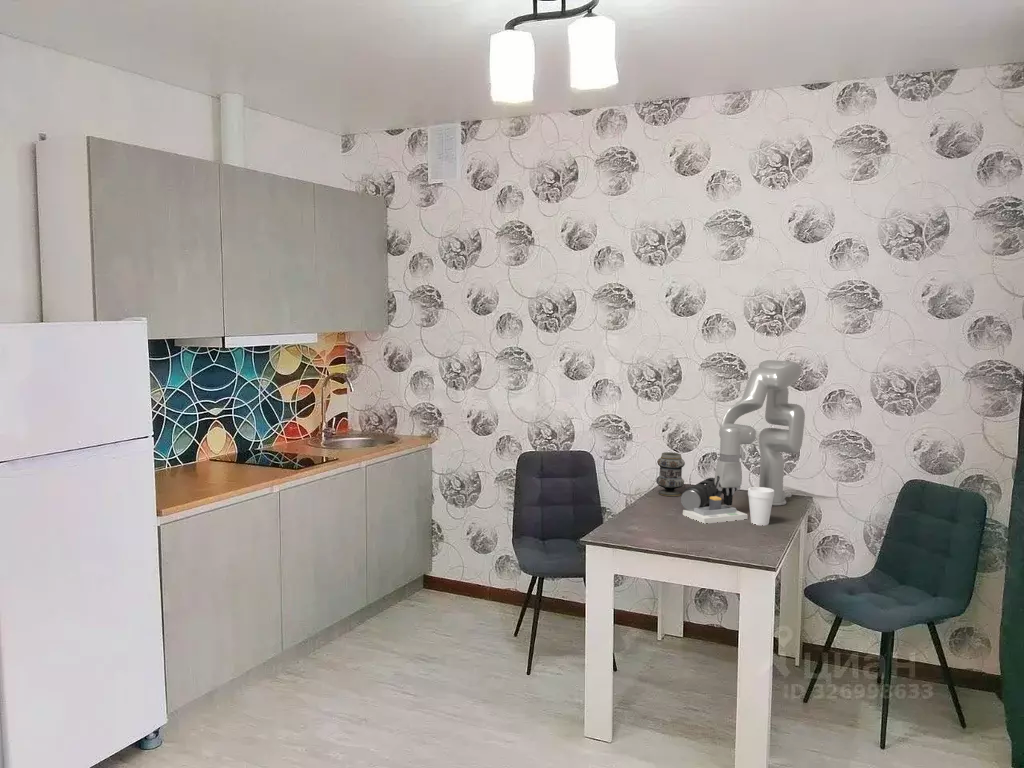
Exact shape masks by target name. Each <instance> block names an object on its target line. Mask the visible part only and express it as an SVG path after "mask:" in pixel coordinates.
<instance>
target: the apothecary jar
mask: <svg viewBox="0 0 1024 768" xmlns="http://www.w3.org/2000/svg"><path fill="white" fill-rule="evenodd" d="M657 465H658V466H659V475H658V476H657V478H656V481H655V482H656V484H657V485H658V486H659V487H661V488H664V489H663V490H661V491H658V495H661V496H664V497H679V496H680V497H681V495H682V493H681V492H680V491H678V490H676V489H680V488H681V487H683V486H684V485H685V479H684V478H682V474H683V473H682V471H683V467H684V466H685V465H686V463H685V461H684V459H683V458H682V454H681V453H678V452H672V451H671V452H670V451H669V452H668V451H666V452H662V453H661V456H660V457H659V458H658V459H657Z"/></svg>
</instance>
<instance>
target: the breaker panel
mask: <svg viewBox="0 0 1024 768" xmlns="http://www.w3.org/2000/svg"><path fill="white" fill-rule="evenodd" d="M682 516H684V517H686V516H687V517H686V518H688V517H689V519H691V520H693V519H694V520H693V521H696V520H697V521H696V522H698V521H699V523H701V522H702V523H701V524H703V523H704V524H703V525H707V524H706V523H708V524H715V523H717V522H718V523H725V522H726V521H728V522H736V521H735V520H737V521H745V520H744V519H747V520H748V518H749V517H748V514H747V513H746V512H742V511H739V510H737V508H736V507H733V506H732V505H729V506H728V505H725V504H721V509H717V510H709V506H704V507H699V508H694V511H689V510H687V509H683V510H682ZM726 523H727V522H726Z"/></svg>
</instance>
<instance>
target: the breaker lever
mask: <svg viewBox="0 0 1024 768" xmlns="http://www.w3.org/2000/svg"><path fill="white" fill-rule="evenodd" d="M708 505H709V506H708V507H709V510H717V509H721V505H722V497H721V496H720V497H717V496H712V497H710V501H709V504H708Z"/></svg>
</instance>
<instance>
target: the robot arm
mask: <svg viewBox="0 0 1024 768" xmlns="http://www.w3.org/2000/svg"><path fill="white" fill-rule="evenodd" d="M801 373H802V369H801V366H800V364H799V363H797V362H796V361H786V360H774V359H772V360H763V361H761V362H760V363H759V365H758V368H755V369H753V370H752V371H751V373H750V374H749V378H748V380H747V383H746V386H745V389H744V391H743V394H742V398H741V399H740V400H739V401H738V402H736V403H734V404H733V405H732V406H731V407H729V409H728V410H727V411H726V412H725V414H724V416H723V418H722V421H721V424H720V427H719V431H718V432H719V433H718V435H719V438H720V442H719V443H720V444H719V461H717V463H716V467H715V472H714V473H715V474H714V478H715V485H716V486H717V488H716V490H718V491H721V492H722V494H723V505H728V506H732V505H733V496H734V495H735V493H736V491H738V490H740V489H741V488H742V487H741V486H742V483H743V473H742V472H743V469H742V463H741V461H740V460H741V459H742V455H741V445H745V446H746V445H751V444H753V443H754V442H755V441H756V439H757V430H756V429H755V428H754V427H753V426H751V425H745V424H741V423H739V424H738V423H735V422H736V421H737V420H738V419H739V418H740V417H742V416H744V415H746V414H750V413H753V412H754V411H757V410H760V409H762V408H763V405H764V403H765V402H766V403H765V412H764V413H765V414H764V417H765V421H766V423H767V424H770V425H774V426H781V427H783V426H784V427H788V429H783V428H777V427H766V428H763V429H761V431H760V432H759V433H758V434H759V435H758V444H759V453H760V455H759V456H760V460H759V462H760V465H759V480H758V481H759V482H758V483H759V485H758V487H765V488H770V489H773V490H774V497H773V502H772V506H784V505H786V504H787V500H786V498H791V497H792V492H785V491H784V472H785V460H784V458H783V455H782V454H781V453H785V454H786V453H787V454H797V453H799V452H800V450H801V448H802V447H803V440H804V429H805V420H806V419H805V418H806V416H805V415H806V414H805V410H804V407H802V406H801V405H800V404H797V403H789V387H790V386H791V385H793V384H795V383H796V382H797V381H798V380H799V379H800V377H801ZM765 399H766V401H765ZM721 487H722V488H721Z"/></svg>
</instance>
